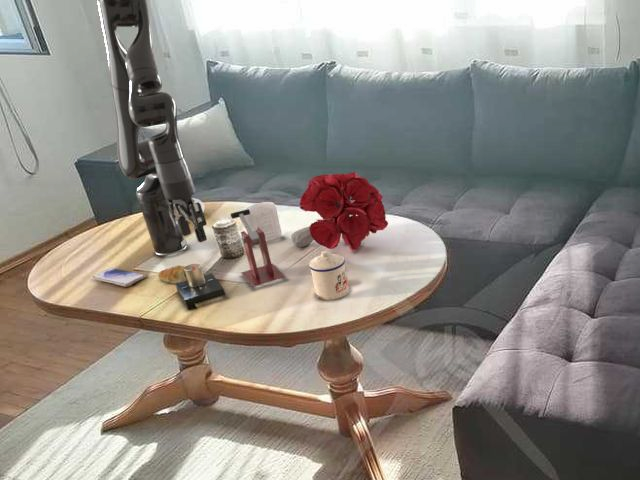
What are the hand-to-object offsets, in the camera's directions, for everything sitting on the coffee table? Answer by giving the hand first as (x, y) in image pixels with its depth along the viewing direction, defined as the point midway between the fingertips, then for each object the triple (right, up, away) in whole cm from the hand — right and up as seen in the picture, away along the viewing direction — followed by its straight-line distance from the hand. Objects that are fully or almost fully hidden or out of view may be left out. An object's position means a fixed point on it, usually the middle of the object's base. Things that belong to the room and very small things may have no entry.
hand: (194, 237), depth 188 cm
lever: (+11, +4, +9) cm, 15 cm away
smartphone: (-29, -9, +20) cm, 36 cm away
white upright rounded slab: (+9, +4, +35) cm, 36 cm away
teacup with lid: (+36, -13, +3) cm, 38 cm away
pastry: (-11, -9, +16) cm, 22 cm away
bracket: (+15, -9, +12) cm, 21 cm away
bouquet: (+34, +1, +27) cm, 43 cm away
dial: (-1, -11, +5) cm, 13 cm away
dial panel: (0, -15, +6) cm, 16 cm away
